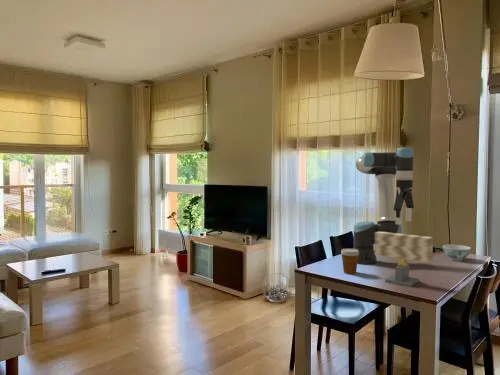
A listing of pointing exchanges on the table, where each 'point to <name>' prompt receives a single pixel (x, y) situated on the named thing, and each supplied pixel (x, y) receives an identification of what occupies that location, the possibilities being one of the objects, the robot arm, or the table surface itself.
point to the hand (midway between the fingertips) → (403, 222)
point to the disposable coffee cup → (350, 260)
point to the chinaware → (456, 251)
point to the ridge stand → (402, 275)
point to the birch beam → (404, 246)
